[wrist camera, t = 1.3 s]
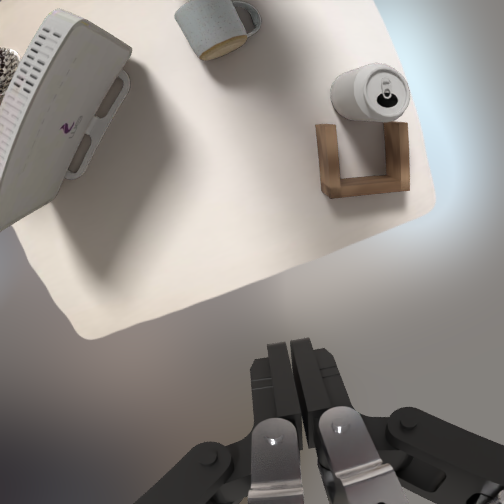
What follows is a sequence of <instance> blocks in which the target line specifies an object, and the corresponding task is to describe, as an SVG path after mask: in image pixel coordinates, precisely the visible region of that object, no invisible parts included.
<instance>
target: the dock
mask: <svg viewBox="0 0 504 504" xmlns="http://www.w3.org/2000/svg"><path fill="white" fill-rule="evenodd" d="M315 126H316V136H317V146H318V156H319V167H320V179H321V191H322V192H323V193H325V194H326V195H327V196H328V197H329V198H330V199H333V198H342V197H351V196H360V195H370V194H379V193H390V192H400V191H410V167H409V139H408V123H405V122H392V121H391V122H384V135H385V152H386V175H379V176H368V177H356V178H346V179H340V170H339V157H338V145H337V134H336V125H333V124H317V125H315Z"/></svg>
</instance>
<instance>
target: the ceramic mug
mask: <svg viewBox="0 0 504 504" xmlns="http://www.w3.org/2000/svg"><path fill="white" fill-rule="evenodd" d="M234 6H236V7H241V8H244V9H246V10H247V11H248V12H249V13H250V15H251V17H252V19H253V24H254V25H255V28H254V30H253V31H252V32H250V33H246V30H245V28H244V26H243V24H242V22H241V20H240V18H239V16H238V14H237V12H236V10H235V8H234ZM175 19H176V21H177V23H178V24H179V26H180V28H181V30H182V31H183V33H184V35H185V37H186V38H187V40H188V42H189V43H190V45H191V47H192V49H193V51H194V52H195V54H196V55H197V56H198V57H199V58H200V59H201V60H205V61H207V60H212V59H215V58H218V57H220V56H223V55H225V54H227V53H229V52H231V51H233V50H235V49H237V48H239V47H241V46H242V45H243V44H245V42H246V41H247V38H248V37H250V36H251V35H253V34H254V33H256V32H257V31H258V30H259V28H260V26H261V16H260V14H259V12H258V10H257V9H256V8H255V7H254V6H253V5H251V4H249V3H247V2H243V1H231V0H190V1H188V2H187V3H185V4H184V5H182V6H181V7H180V8H179V9H178V10H177V11H176V13H175Z"/></svg>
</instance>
